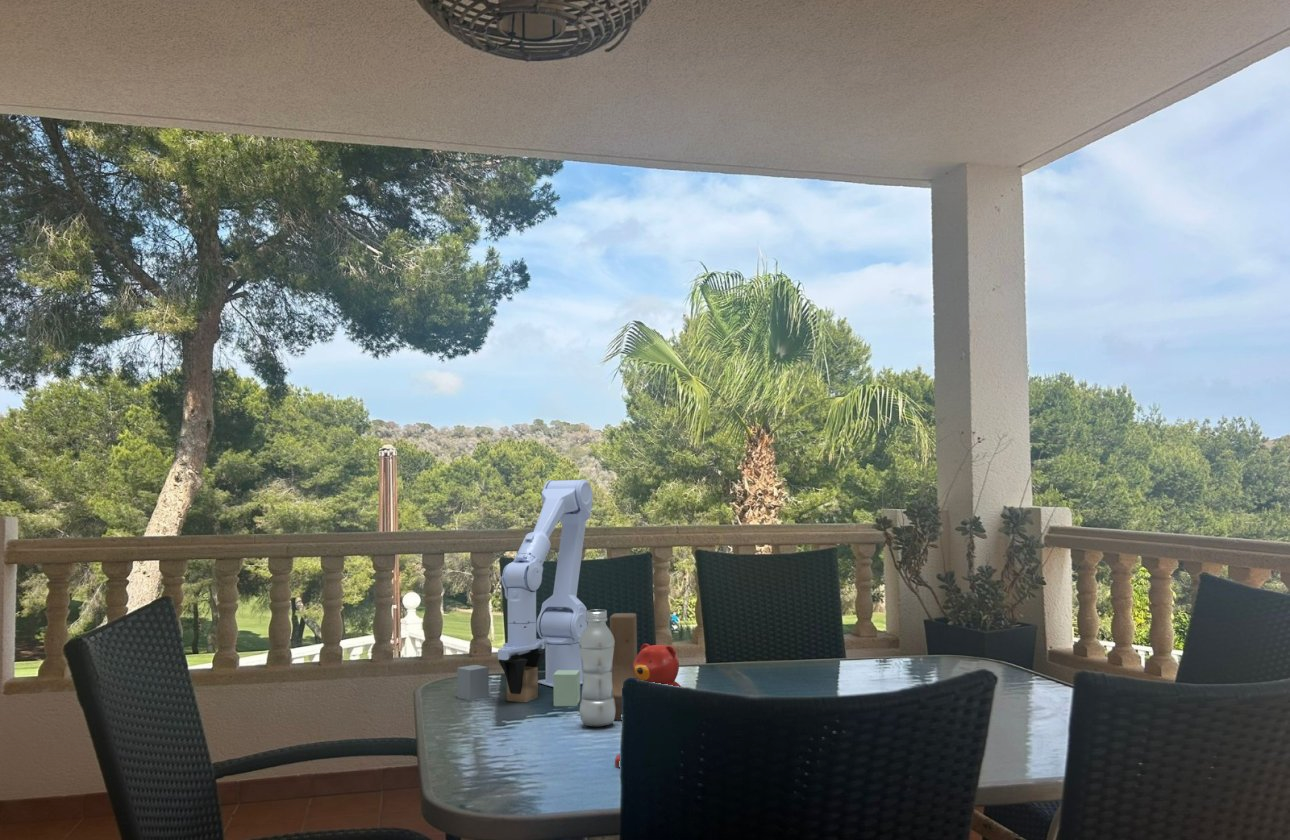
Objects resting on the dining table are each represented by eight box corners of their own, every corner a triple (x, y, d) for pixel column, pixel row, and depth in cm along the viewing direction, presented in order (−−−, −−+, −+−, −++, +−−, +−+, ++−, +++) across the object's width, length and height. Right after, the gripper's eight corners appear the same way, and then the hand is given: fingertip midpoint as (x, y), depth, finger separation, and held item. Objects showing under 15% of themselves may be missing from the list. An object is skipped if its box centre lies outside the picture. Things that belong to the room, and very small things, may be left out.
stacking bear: (608, 765, 140) (607, 645, 141) (656, 752, 147) (654, 637, 148) (660, 780, 132) (657, 653, 134) (707, 765, 139) (705, 644, 141)
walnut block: (518, 696, 190) (518, 666, 190) (537, 697, 188) (537, 667, 189) (506, 700, 186) (506, 669, 186) (526, 702, 184) (525, 671, 184)
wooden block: (631, 721, 167) (630, 619, 169) (606, 720, 168) (605, 619, 169) (638, 709, 176) (636, 612, 178) (614, 709, 177) (613, 612, 178)
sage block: (557, 701, 185) (557, 670, 185) (580, 701, 185) (579, 670, 185) (553, 706, 180) (553, 674, 181) (576, 706, 180) (576, 674, 181)
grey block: (475, 694, 192) (475, 664, 193) (488, 697, 189) (488, 667, 190) (457, 697, 189) (457, 667, 190) (470, 701, 186) (470, 670, 187)
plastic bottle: (618, 721, 167) (617, 608, 169) (613, 730, 161) (612, 613, 162) (583, 721, 168) (581, 608, 170) (576, 730, 161) (575, 613, 163)
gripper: (524, 616, 196) (524, 682, 195) (484, 626, 183) (484, 696, 182) (553, 618, 193) (553, 684, 192) (515, 627, 180) (515, 699, 179)
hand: (522, 690), depth 187 cm, fingers closed on walnut block, 4 cm apart
